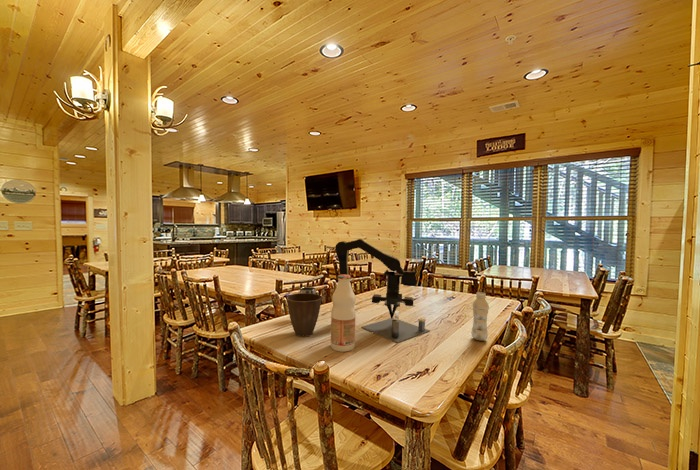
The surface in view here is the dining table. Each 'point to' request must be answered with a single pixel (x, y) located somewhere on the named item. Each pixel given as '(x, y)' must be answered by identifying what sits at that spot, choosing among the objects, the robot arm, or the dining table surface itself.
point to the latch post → (421, 324)
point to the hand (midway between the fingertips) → (391, 318)
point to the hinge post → (395, 329)
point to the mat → (385, 330)
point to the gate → (396, 315)
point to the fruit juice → (343, 316)
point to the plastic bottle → (480, 317)
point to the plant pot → (304, 312)
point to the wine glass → (308, 290)
